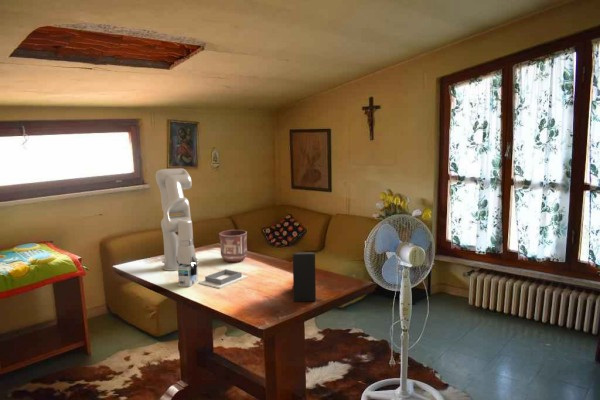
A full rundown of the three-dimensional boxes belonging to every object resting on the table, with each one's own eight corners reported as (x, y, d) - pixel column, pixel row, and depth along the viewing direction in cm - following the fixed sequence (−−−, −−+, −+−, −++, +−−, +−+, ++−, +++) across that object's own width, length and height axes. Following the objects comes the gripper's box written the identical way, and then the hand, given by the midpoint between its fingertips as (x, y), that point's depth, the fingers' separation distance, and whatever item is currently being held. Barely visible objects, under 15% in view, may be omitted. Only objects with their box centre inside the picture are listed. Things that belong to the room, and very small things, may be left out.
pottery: (218, 257, 294) (217, 230, 291) (245, 255, 299) (244, 228, 297) (222, 265, 278) (221, 237, 275) (250, 262, 283) (249, 234, 280)
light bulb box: (190, 287, 238) (189, 267, 237) (178, 286, 240) (177, 266, 238) (198, 280, 249) (197, 261, 247) (187, 280, 250) (186, 261, 249)
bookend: (293, 286, 238) (292, 242, 235) (313, 285, 238) (313, 242, 235) (293, 302, 215) (292, 254, 211) (316, 301, 215) (315, 254, 212)
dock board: (198, 283, 244) (198, 277, 244) (227, 272, 262) (226, 267, 261) (220, 288, 235) (219, 282, 235) (248, 277, 253) (247, 271, 252)
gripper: (169, 242, 243) (171, 273, 245) (191, 245, 233) (193, 278, 235) (180, 239, 249) (182, 269, 251) (202, 243, 239) (204, 274, 241)
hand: (187, 273), depth 243 cm, fingers open, 9 cm apart
